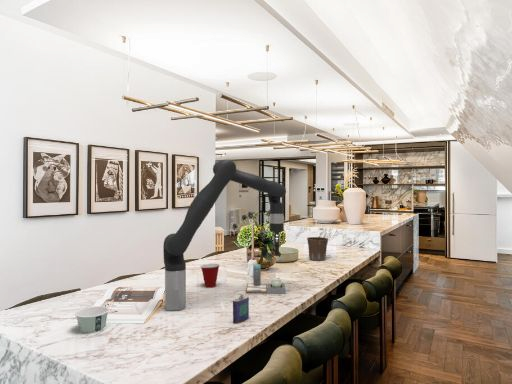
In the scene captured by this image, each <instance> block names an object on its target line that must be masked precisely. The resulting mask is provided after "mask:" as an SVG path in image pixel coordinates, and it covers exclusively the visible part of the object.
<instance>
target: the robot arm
mask: <svg viewBox="0 0 512 384" xmlns="http://www.w3.org/2000/svg"><path fill="white" fill-rule="evenodd" d="M212 172H213V174H214V175H213V177H212V178H211V180H210V181H209V182H208V183H207V184H206V185H204V186H203V188H202V189H201V190H200V191H199V192H197V194H196V196H195V197H194V198H193V200H192V201H191V203H190V205H189V206H188V207H187V208H188V209H187V211H186V215H185V217H184V220H183V222H182V224H181V226H180V227H179V228H178V230H177V231H176V233H175V232H174V233H170V234H168V235H167V236H166V237H165V238H164V240H163V249H162V250H163V264H164V308H165V311H181V310H184V309H186V307H187V303H186V302H187V300H186V299H187V296H186V295H187V284H186V282H187V280H186V279H187V277H186V276H187V266H186V265H187V264H186V261H185V258H184V253H185V252H186V251H187V249H188V248H189V246H190V244H191V242H192V240H193V238H194V236H195V234H196V233H197V231H198V230H199V228H200V227H201V225H202V223H203V222H204V220H205V219H206V217H207V216H208V214H209V213H210V212H211V210H212V208H213V207H214V206H215V203H216V202H217V201H218V199H219V197H220V196H221V193H222V192H223V191H224V189H225V187H226V186H227V185H228V183H230V182H234V183H238V184H240V185H243V186H246V187H248V188H250V189H253V190H254V191H257V192H260V193H264V194H265V193H266V194H267V198H268V203H269V223H268V224H269V232H271V233H272V232H273V234H272V239H273V241H272V244H273V249H274V252H273V254H274V256H275V257H279V255H280V254H279V253H280V244H281V234H280V233H282V232H284V231H285V227H284V225H285V221H284V220H285V217H284V204H283V203H282V202H281V200H280V199H281V198H283V197H284V196H285V195H286V193H287V189H286V187H285V186H284V184H281V183H279V182H275V181H273V180H272V181H271V180H268V179H266V178H263V177H262V176H259V175H256V174H253V173H249V172H245V171H242V170H240V169H237V165H236V162H235V161H234V160H231V159H221V160H218V161H217V162H214V164H213V167H212Z"/></svg>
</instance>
